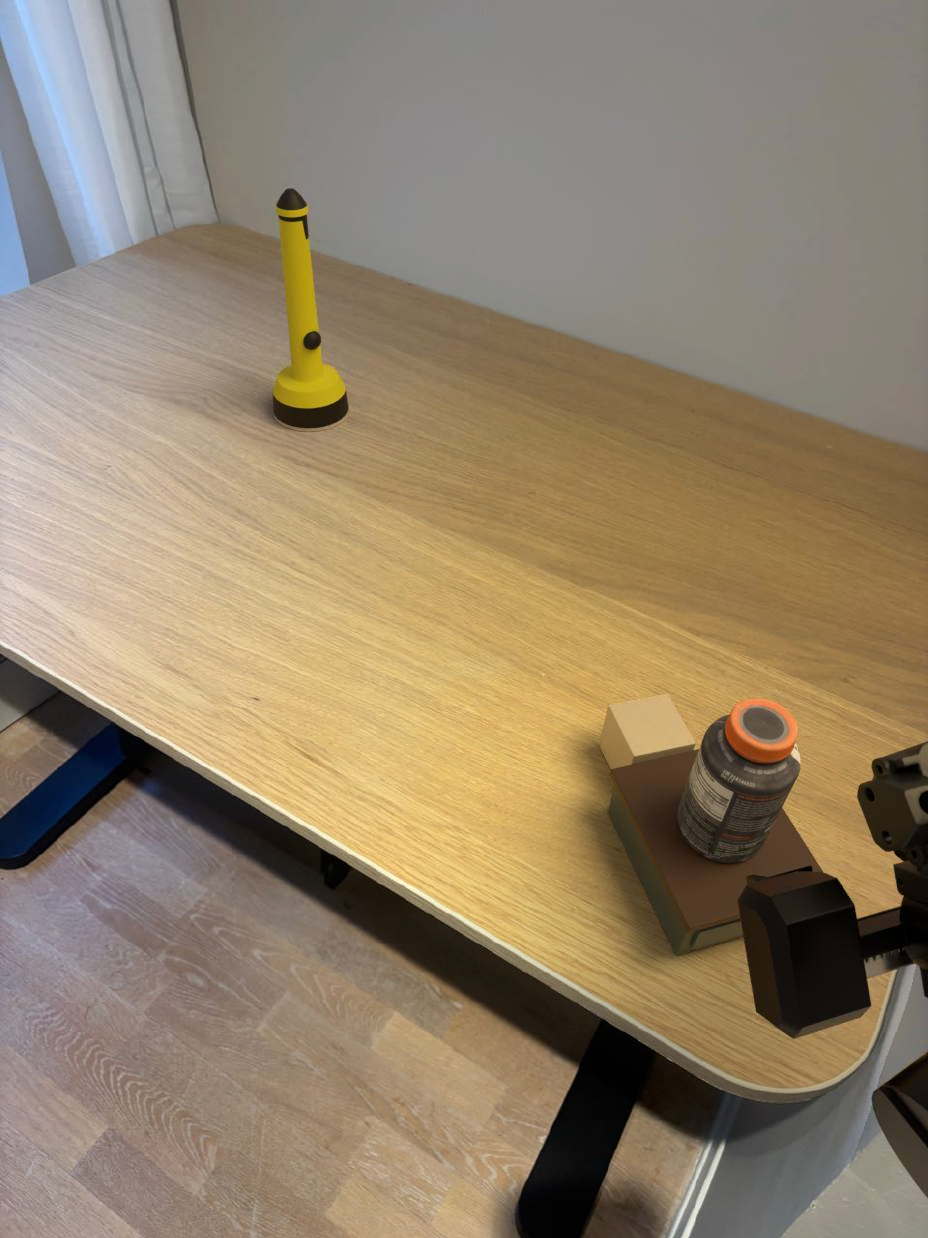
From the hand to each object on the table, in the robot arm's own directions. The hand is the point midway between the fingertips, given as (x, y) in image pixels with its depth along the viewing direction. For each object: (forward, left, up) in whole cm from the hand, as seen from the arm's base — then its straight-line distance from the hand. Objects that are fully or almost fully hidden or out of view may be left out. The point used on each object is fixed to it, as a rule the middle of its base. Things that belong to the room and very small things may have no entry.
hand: (824, 864), depth 48 cm
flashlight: (+51, -57, -14) cm, 78 cm away
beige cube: (+8, -13, -11) cm, 18 cm away
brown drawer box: (+4, -7, -14) cm, 16 cm away
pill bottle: (+4, -7, -9) cm, 12 cm away
